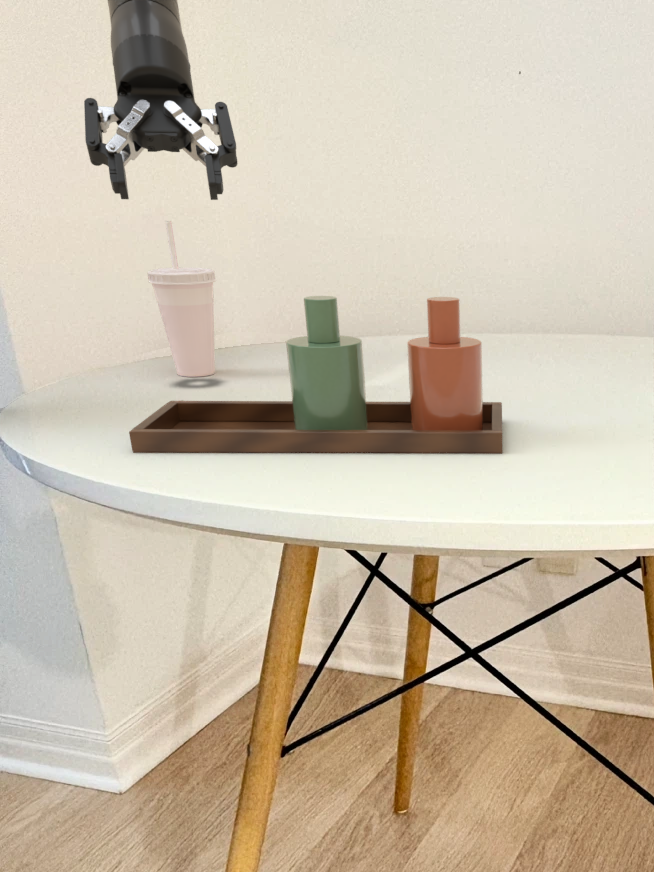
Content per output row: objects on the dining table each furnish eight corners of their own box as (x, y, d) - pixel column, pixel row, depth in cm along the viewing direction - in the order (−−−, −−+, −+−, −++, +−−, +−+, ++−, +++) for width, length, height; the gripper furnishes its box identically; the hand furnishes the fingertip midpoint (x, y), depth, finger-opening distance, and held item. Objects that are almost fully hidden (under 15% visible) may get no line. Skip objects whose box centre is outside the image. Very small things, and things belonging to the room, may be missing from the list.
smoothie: (183, 366, 106) (160, 218, 99) (239, 369, 105) (220, 220, 98) (151, 377, 101) (124, 222, 94) (210, 380, 100) (187, 223, 93)
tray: (133, 460, 74) (128, 431, 73) (174, 426, 83) (170, 400, 82) (502, 461, 75) (502, 432, 74) (502, 427, 84) (501, 401, 83)
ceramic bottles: (289, 444, 76) (274, 302, 71) (302, 426, 81) (288, 292, 76) (482, 444, 76) (480, 303, 72) (483, 427, 81) (481, 294, 76)
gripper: (69, 28, 98) (84, 162, 94) (220, 34, 102) (241, 164, 98) (85, 94, 105) (100, 222, 101) (225, 98, 109) (245, 221, 105)
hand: (169, 193), depth 100 cm, fingers open, 8 cm apart
